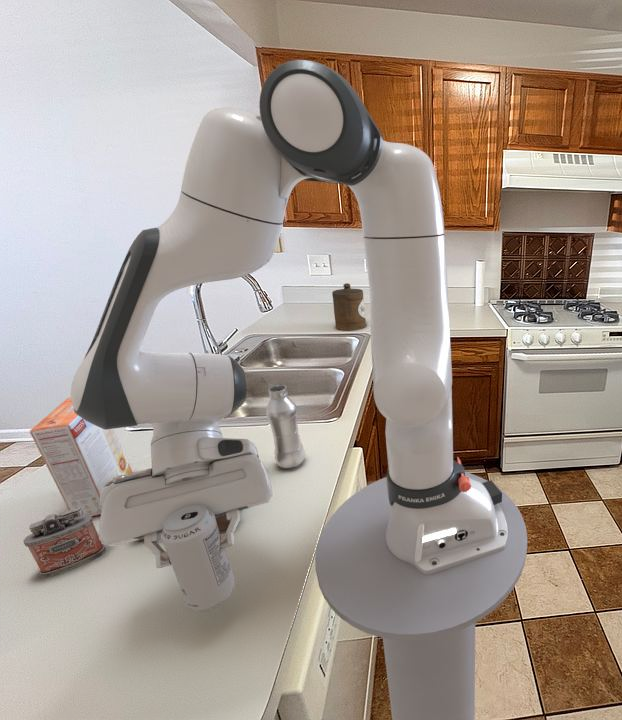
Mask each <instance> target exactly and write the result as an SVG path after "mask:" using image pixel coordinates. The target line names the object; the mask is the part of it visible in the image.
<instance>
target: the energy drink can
mask: <svg viewBox="0 0 622 720" xmlns="http://www.w3.org/2000/svg"><path fill="white" fill-rule="evenodd" d="M163 527H164V528H163V531H162V533H161V539H162V541H161V542H162V544H163V546H164V549H165V552H167V554H168V557H169V559H170V562H171V565H170V566H171V568H172V569H173V572H174V575H175V576H176V580H177V583H178V585H179V587H180V591H181V593H182V595H183V599H184V600H185V601H184V602H185V603H186V606H187V607H188V608H189V609H190V610H193V611H197V612H207V611H208V612H209V611H211V610H214V609H216V608H217V607H220V606H221V605H222V604H223V603H225V601H227V600H228V598H229V597H230V595H231V593H232V591H233V589H234V587H235V583H236V581H235V576H234V574H233V569H232V567H231V564H230V561H229V556H228V554H227V551H226V548H221V547H220V542H221V541H220V535H221V531H219V528H218V525H217V522H216V519H215V516H214V514H213V513H212V512H211V511H209V510H207V508H206V506H204V505H203V504H190V505H186V506H183V507H181V508H178V509H177V510H175V511H173V512H172V513H170V514H169V515H168V516H167V517H166V518H165V520H164V522H163Z"/></svg>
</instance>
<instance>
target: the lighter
mask: <svg viewBox="0 0 622 720" xmlns="http://www.w3.org/2000/svg"><path fill="white" fill-rule="evenodd" d="M82 515H83V511H82V508H79V507H78V508H75V509H72V510H69V509H68V510H66V511H64V512H61V513H59V514H56V513H51V514H49V515H47V516H45V518H44V519H42V520H39V521H36V522H33V523H31V524H29V525H28V529H29V530H30V534H28V535H27V536H25V538H24V539H23V545H24V546H25V547H26V548H28V550H29V551H30V552H29V553H31V556H32V558H33V559H34V561H35V562H36V565H37V566H38V568H39V574H40V575H41V577H42V578H50V577H53V576H56V575H60V574H63V573H65V572H68V571H71V570H73V569H76V568H78V567H80V566H83V565H85V564H88V563H89V562H91V561H94V560H95V559H97V558H100V557H101V556H103V554H105V552H106V551H107V548H106V545H105V544H104V543H102V542H101V541H100V540H99V532H97V529H96V526H95V525H94V519H93V517H92V516H91V515H83V516H82Z"/></svg>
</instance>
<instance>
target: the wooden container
mask: <svg viewBox="0 0 622 720" xmlns="http://www.w3.org/2000/svg"><path fill="white" fill-rule="evenodd" d="M342 286H343V288H339V289H336V290H335V289H334V290H333V291H332V293H331V294H332V303H333V314H334V322H335V328H336V329H337V330H340V331H358V330H361V329H364V328H366V327H367V321H366V309H365V300H364V290H362V289H360V288H351V284H350V283H346V282H345V283H344V284H343V285H342Z"/></svg>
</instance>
